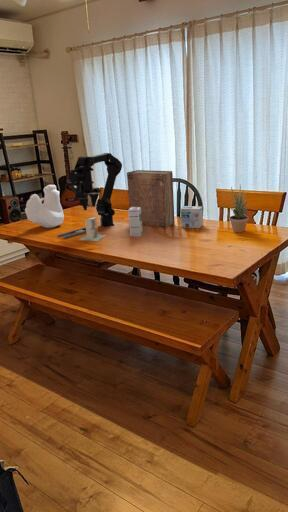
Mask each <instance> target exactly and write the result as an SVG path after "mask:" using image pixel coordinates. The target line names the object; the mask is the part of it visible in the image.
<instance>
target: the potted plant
mask: <svg viewBox="0 0 288 512" xmlns="http://www.w3.org/2000/svg"><path fill="white" fill-rule="evenodd" d="M230 188H231V191H232V194H233V195H232V196H233V197H234V199H235V200H234V199H233V198H231V199H232V200H231V201H232V203H233V205H234V208H232V207H230V209H231V211H232V213H233V214H234V215H231V216H229V217H228V218H229V222H230V225H231V228H232V231H233V232H234V233H245V231H246V227H247V224H248V221H249V216H248V215H247V212H248V210H249V208H250V207H249V206H248V207H247V204H248V201H246V196H245V197H244V191H241V189H242V187H241V185H239V190H238V191H239V192H238V193H239V194H236V192H235V191H234V190H233V187H232V186H231V187H230ZM237 195H238V196H237ZM243 197H244V199H243ZM245 201H246V202H245Z"/></svg>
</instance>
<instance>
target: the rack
mask: <svg viewBox="0 0 288 512" xmlns="http://www.w3.org/2000/svg"><path fill="white" fill-rule="evenodd" d="M79 230H84V231H82V232H78V233H75V232H76V231H79ZM84 234H86V227H81V228H77V229H75V230H74V229H73V230H70V231H65V232H63V233H62V232H61V233H59V234H57V237H58V238H61V237H63V239H64V240H67V239H70V238H73V237H78V236H80V235H81V236H82V235H84Z"/></svg>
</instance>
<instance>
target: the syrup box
mask: <svg viewBox="0 0 288 512" xmlns="http://www.w3.org/2000/svg"><path fill="white" fill-rule="evenodd" d="M127 215H128V225H129V226H128V227H129V235H130V237H141V236H142V235H143V234H144V230H143V225H142V216H141V207H131V208H130V207H129V209H128V210H127Z"/></svg>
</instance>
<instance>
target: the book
mask: <svg viewBox="0 0 288 512" xmlns="http://www.w3.org/2000/svg"><path fill="white" fill-rule="evenodd" d="M173 177H174V176H173V171H172V170H148V169H147V170H144V169H143V170H142V169H141V170H140V169H137V170H132V171H127V172H126V179H127V181H126V182H127V191H128V203H129V209H130V208H131V207H141V216H142V226H147V227H156V228H162V229H167V227H168V226H170V225H175V223H176V222H175V204H174V203H175V201H174V200H175V199H174V198H175V197H174V180H173V179H174V178H173Z"/></svg>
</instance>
